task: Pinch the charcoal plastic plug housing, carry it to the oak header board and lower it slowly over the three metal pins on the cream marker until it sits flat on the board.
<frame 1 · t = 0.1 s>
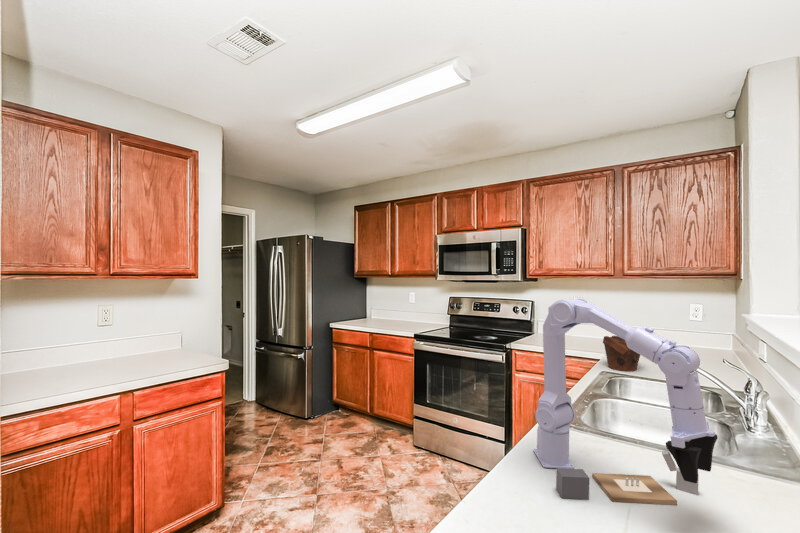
hand: (697, 475, 78), 11 cm above the counter, tool pointing down, fingers open, 7 cm apart
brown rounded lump: (621, 368, 201), on the counter
lighter: (679, 488, 92), on the counter
header board: (632, 490, 91), on the counter
plug housing: (572, 494, 89), on the counter
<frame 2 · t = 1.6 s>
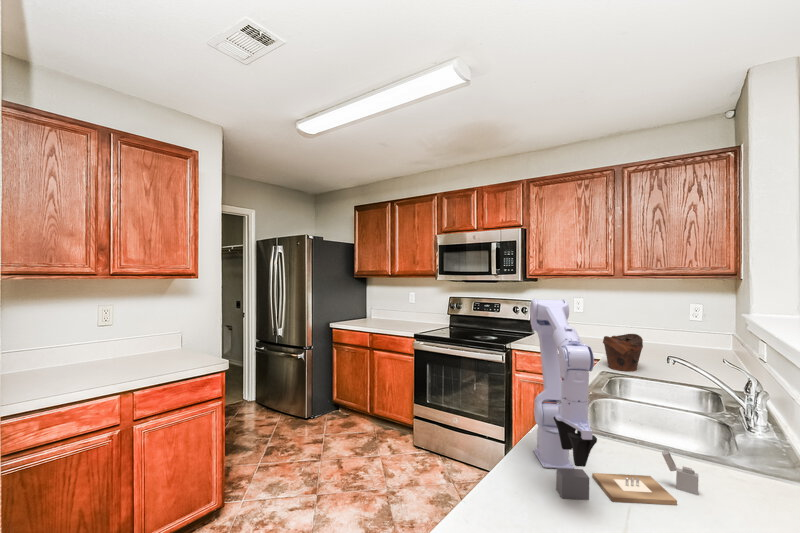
hand: (573, 457, 89), 9 cm above the counter, tool pointing down, fingers open, 7 cm apart
nothing on the counter moved.
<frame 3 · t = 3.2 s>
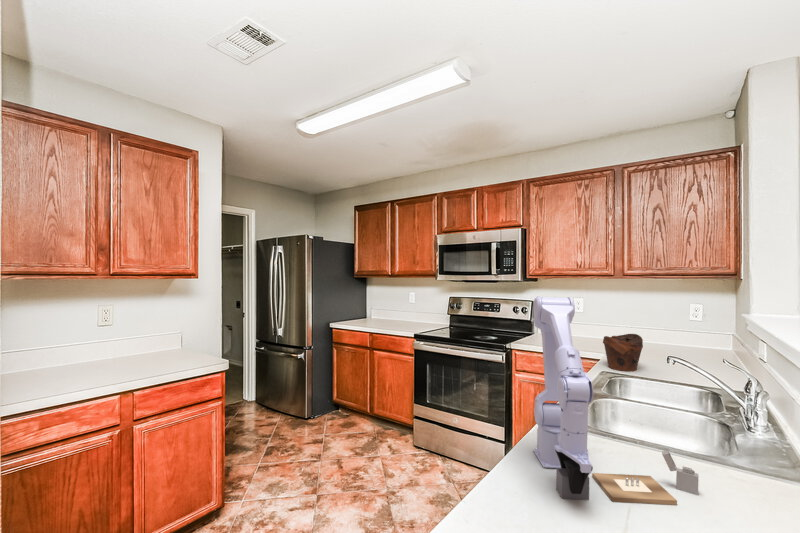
hand: (572, 487, 89), 2 cm above the counter, tool pointing down, fingers closed on plug housing, 4 cm apart
plug housing: (572, 494, 89), on the counter, touching gripper
everything else where it was.
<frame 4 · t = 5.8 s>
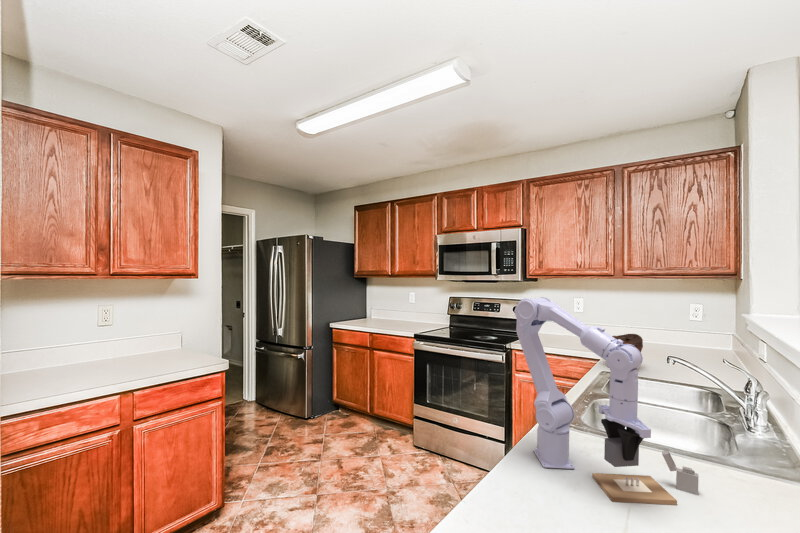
hand: (622, 455, 90), 8 cm above the counter, tool pointing down, fingers closed on plug housing, 4 cm apart
plug housing: (621, 462, 90), point 7 cm above the counter, touching gripper
everything else where it was.
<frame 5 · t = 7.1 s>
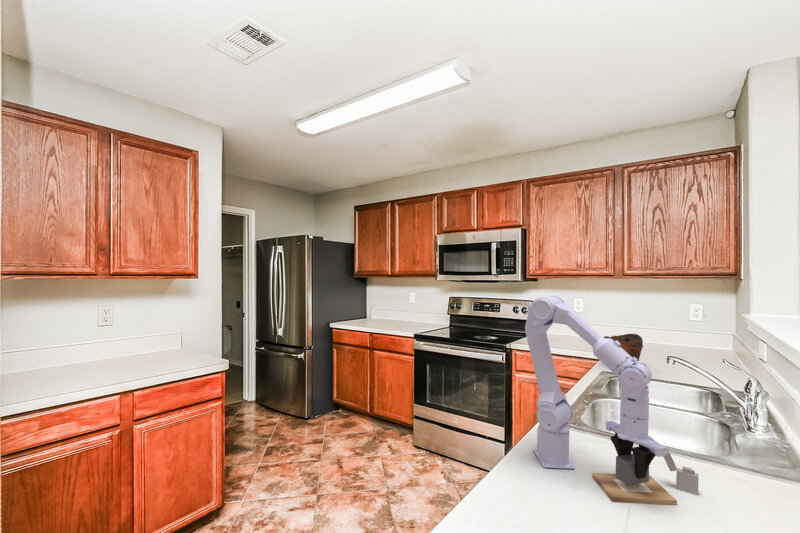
hand: (632, 472, 91), 4 cm above the counter, tool pointing down, fingers closed on plug housing, 4 cm apart
plug housing: (631, 479, 91), point 3 cm above the counter, touching gripper
everything else where it was.
when the fingers open (3 cm above the counter, at t = 8.2 s): plug housing stays where it is, resting on header board.
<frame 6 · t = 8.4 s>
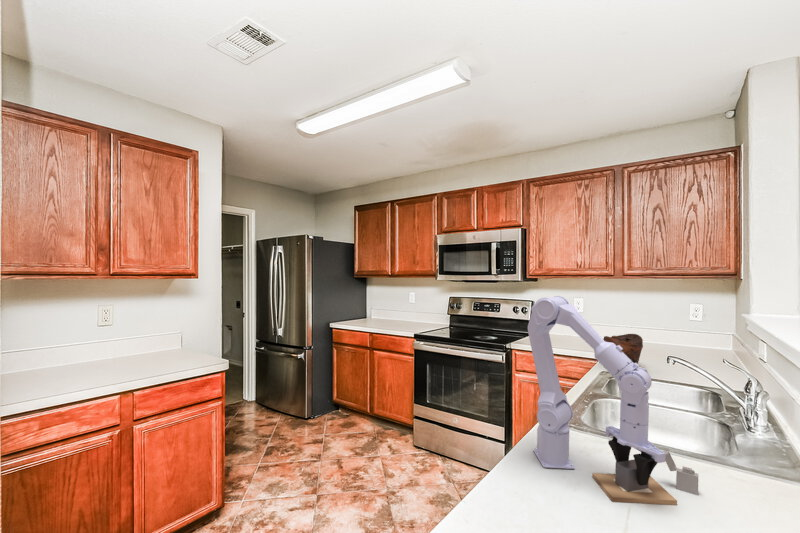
hand: (632, 477, 91), 3 cm above the counter, tool pointing down, fingers open, 5 cm apart
plug housing: (631, 485, 91), point 1 cm above the counter, touching header board
everything else where it was.
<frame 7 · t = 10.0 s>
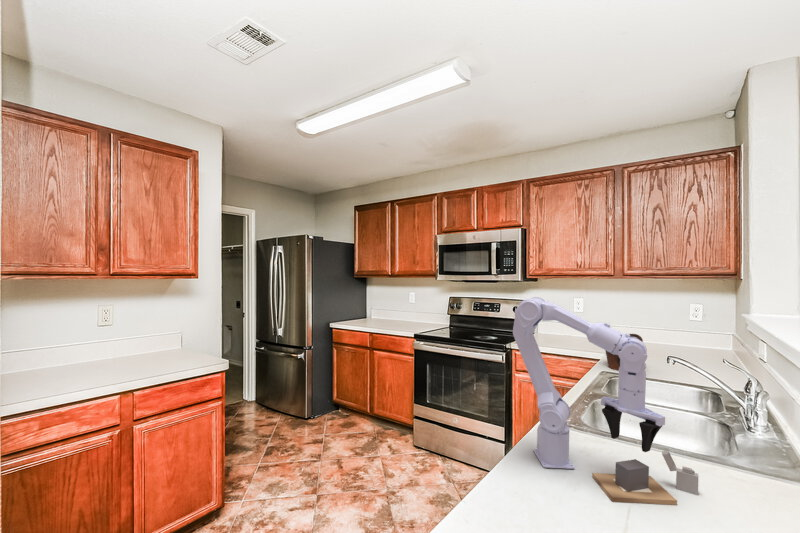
hand: (630, 443, 94), 9 cm above the counter, tool pointing down, fingers open, 7 cm apart
nothing on the counter moved.
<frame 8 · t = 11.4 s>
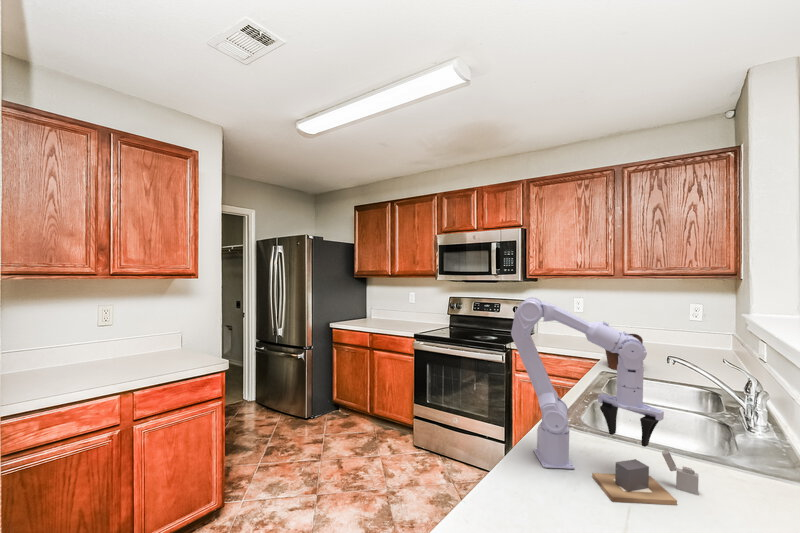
hand: (628, 439, 97), 9 cm above the counter, tool pointing down, fingers open, 7 cm apart
nothing on the counter moved.
at the end: plug housing 0.2 cm from the header board (horizontally); plug housing point 1.1 cm above the counter; the gripper is holding nothing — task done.
